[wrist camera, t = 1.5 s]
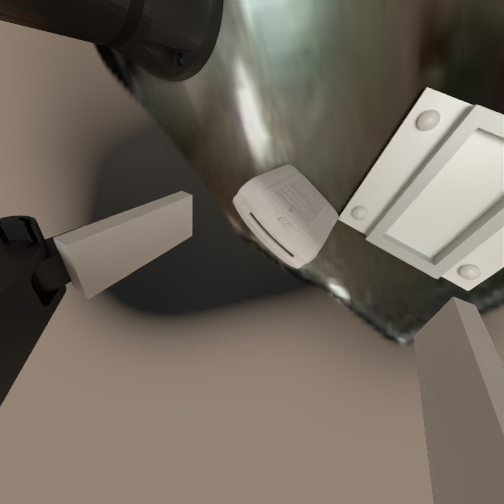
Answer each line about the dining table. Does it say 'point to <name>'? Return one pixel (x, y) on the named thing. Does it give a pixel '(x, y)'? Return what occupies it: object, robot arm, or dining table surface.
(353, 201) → the dock plate
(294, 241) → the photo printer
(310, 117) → the dining table surface
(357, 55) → the dining table surface
